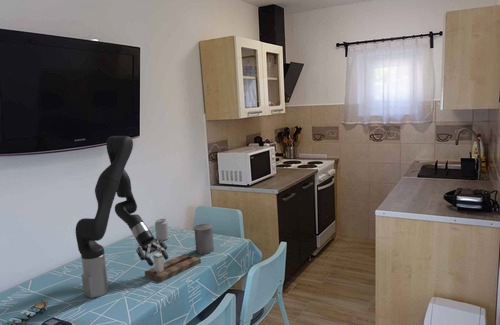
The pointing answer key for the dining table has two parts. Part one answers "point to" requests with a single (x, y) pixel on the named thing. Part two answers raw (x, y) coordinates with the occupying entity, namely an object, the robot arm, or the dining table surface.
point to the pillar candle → (204, 238)
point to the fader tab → (158, 263)
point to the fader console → (173, 267)
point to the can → (161, 229)
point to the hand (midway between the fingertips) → (159, 261)
